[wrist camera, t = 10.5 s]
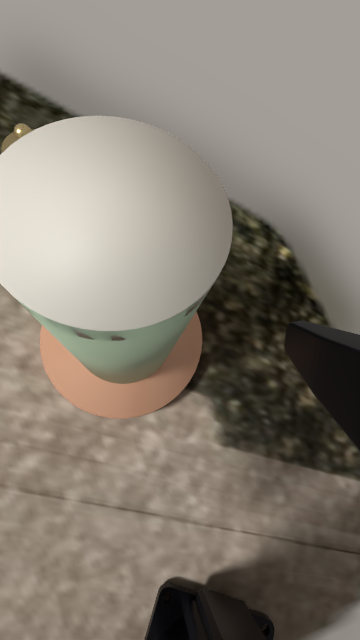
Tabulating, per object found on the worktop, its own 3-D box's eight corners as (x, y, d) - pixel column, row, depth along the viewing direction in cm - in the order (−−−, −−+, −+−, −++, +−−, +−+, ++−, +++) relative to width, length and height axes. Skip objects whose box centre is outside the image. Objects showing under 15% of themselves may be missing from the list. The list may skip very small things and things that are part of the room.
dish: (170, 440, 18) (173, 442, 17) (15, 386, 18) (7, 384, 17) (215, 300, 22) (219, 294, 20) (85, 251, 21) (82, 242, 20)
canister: (118, 405, 17) (92, 390, 6) (54, 330, 18) (-84, 186, 6) (190, 339, 19) (278, 230, 8) (129, 274, 20) (126, 85, 8)
